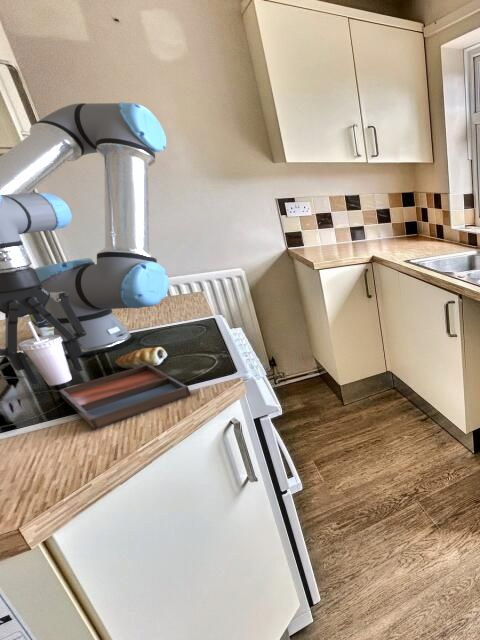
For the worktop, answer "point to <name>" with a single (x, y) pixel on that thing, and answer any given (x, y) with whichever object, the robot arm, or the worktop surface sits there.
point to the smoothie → (47, 357)
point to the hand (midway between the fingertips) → (57, 375)
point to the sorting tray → (123, 395)
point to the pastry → (142, 358)
